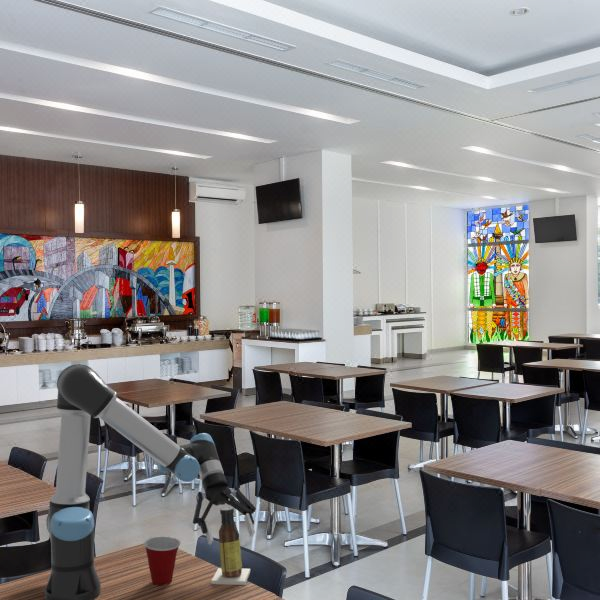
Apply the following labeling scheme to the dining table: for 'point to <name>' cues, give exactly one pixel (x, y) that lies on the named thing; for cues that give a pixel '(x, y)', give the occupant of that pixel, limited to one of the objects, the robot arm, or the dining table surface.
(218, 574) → the cream pad
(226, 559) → the sauce bottle
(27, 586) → the dining table surface
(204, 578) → the dining table surface
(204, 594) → the dining table surface
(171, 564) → the plastic cup
